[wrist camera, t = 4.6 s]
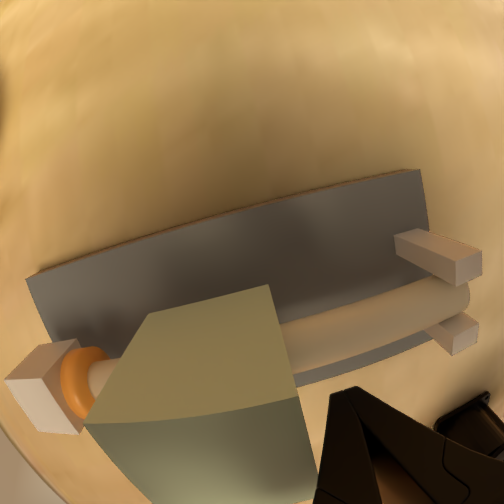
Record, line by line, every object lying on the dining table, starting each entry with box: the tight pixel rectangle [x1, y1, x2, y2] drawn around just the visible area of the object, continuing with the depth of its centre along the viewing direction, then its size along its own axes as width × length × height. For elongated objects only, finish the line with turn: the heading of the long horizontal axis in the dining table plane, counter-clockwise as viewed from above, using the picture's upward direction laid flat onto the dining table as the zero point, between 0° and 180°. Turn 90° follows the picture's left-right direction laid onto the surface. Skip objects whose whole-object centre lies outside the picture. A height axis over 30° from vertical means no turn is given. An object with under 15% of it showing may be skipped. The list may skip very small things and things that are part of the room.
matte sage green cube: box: [83, 284, 318, 504], centre depth 9 cm, size 5×5×6 cm
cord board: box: [4, 169, 482, 435], centre depth 12 cm, size 22×10×7 cm, turn 105°
